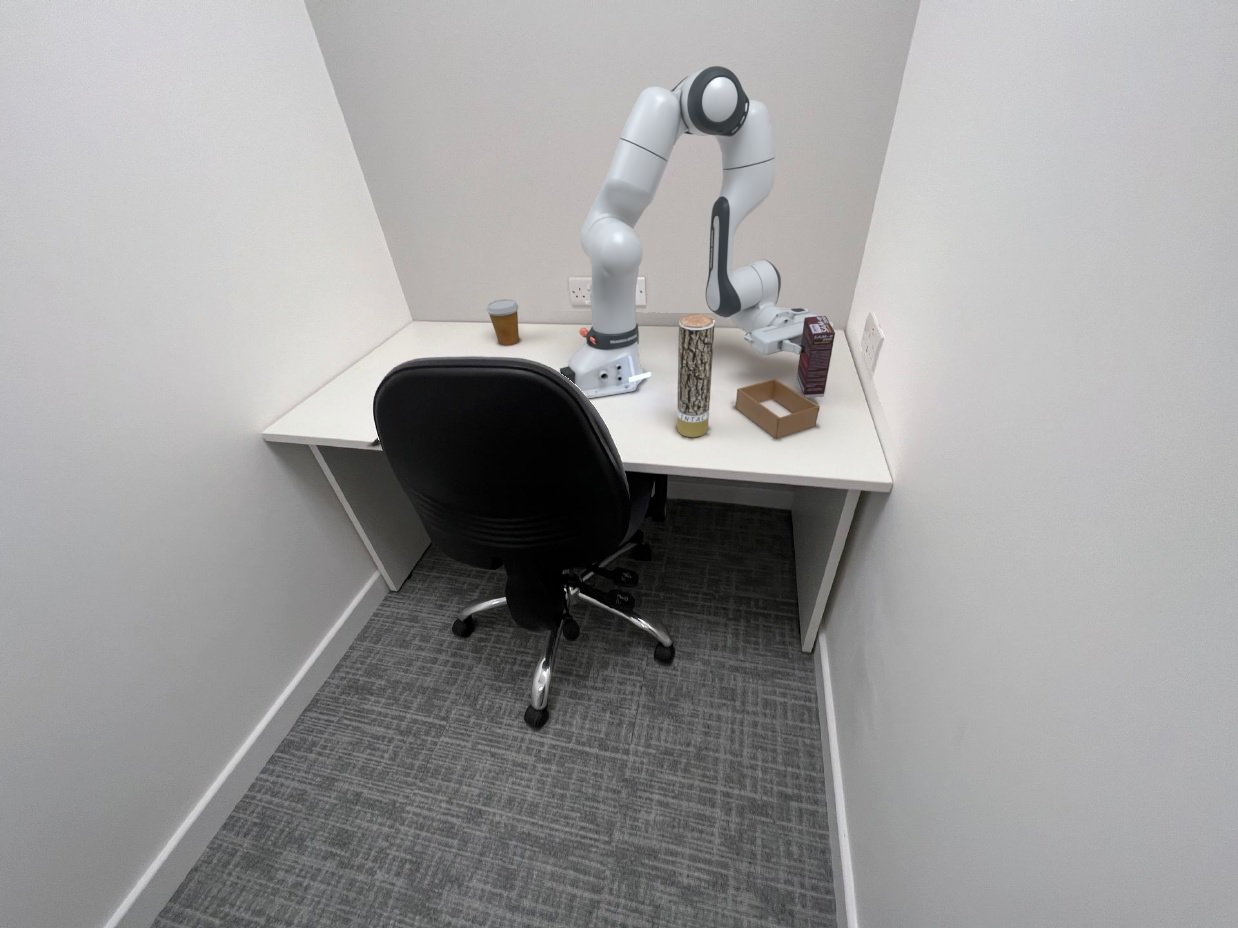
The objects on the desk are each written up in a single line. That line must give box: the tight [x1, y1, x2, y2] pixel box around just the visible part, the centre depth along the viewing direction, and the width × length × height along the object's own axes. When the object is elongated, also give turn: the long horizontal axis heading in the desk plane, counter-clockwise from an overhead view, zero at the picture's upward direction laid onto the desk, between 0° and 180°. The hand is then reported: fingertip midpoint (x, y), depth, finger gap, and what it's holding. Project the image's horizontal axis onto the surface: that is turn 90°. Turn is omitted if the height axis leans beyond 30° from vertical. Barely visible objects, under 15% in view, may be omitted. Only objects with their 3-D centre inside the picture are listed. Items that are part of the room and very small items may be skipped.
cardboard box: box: [735, 378, 820, 440], centre depth 111 cm, size 10×15×5 cm
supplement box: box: [796, 315, 836, 399], centre depth 111 cm, size 9×5×16 cm, turn 176°
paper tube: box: [676, 314, 716, 438], centre depth 102 cm, size 7×7×25 cm
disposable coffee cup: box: [486, 298, 520, 346], centre depth 153 cm, size 10×10×12 cm
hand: (815, 347), depth 111 cm, fingers closed on supplement box, 6 cm apart
